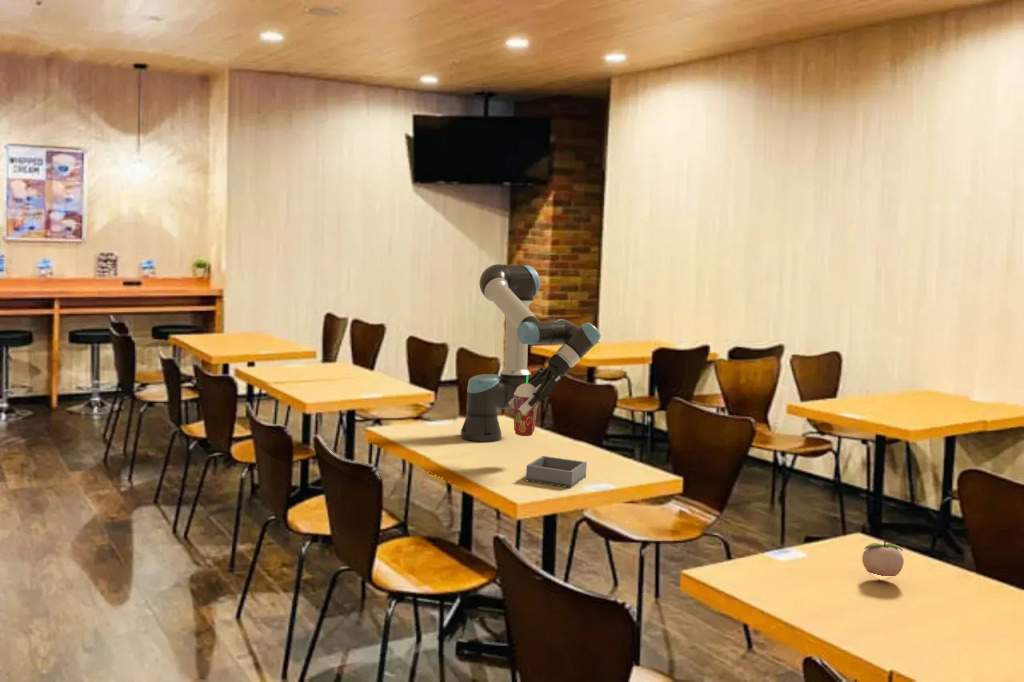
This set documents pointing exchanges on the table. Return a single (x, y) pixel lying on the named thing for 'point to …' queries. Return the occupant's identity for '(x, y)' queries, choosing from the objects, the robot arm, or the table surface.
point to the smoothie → (526, 423)
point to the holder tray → (556, 471)
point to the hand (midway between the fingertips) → (516, 408)
